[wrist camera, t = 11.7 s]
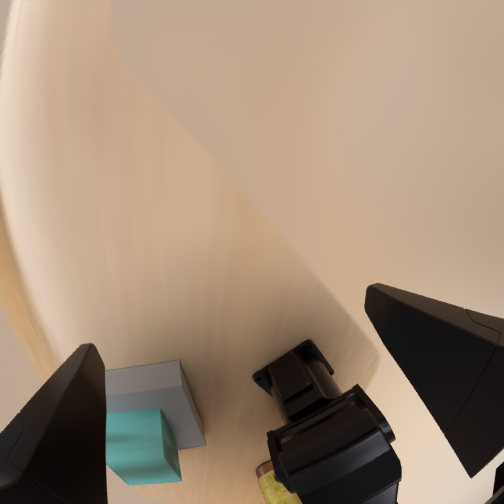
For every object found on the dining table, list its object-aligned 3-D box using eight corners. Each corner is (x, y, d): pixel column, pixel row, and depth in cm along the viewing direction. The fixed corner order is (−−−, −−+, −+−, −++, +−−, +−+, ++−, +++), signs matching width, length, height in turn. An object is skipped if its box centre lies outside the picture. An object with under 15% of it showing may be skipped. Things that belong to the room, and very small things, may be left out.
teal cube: (175, 437, 24) (182, 481, 19) (127, 442, 23) (128, 485, 18) (160, 407, 22) (164, 457, 17) (106, 413, 21) (103, 461, 16)
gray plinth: (202, 423, 28) (206, 445, 25) (115, 433, 26) (114, 455, 23) (178, 359, 24) (181, 385, 21) (74, 373, 22) (69, 397, 19)
